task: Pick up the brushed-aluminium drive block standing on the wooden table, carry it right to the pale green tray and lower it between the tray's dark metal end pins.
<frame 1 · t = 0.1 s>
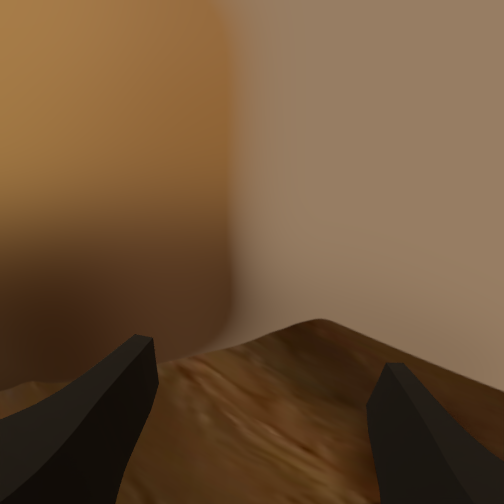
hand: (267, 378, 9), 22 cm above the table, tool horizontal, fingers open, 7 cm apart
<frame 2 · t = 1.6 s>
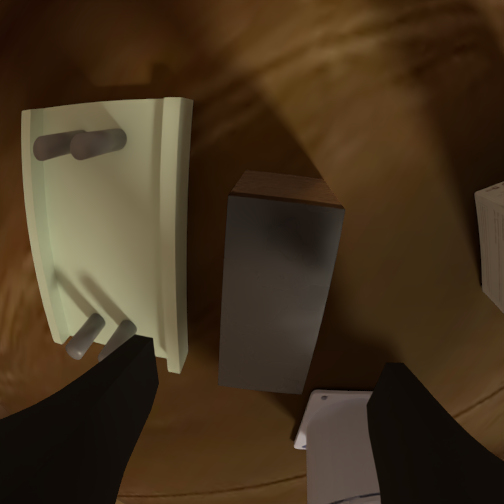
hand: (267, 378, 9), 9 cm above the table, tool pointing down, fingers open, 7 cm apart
tray: (109, 235, 18), on the table
drive: (275, 253, 18), on the table
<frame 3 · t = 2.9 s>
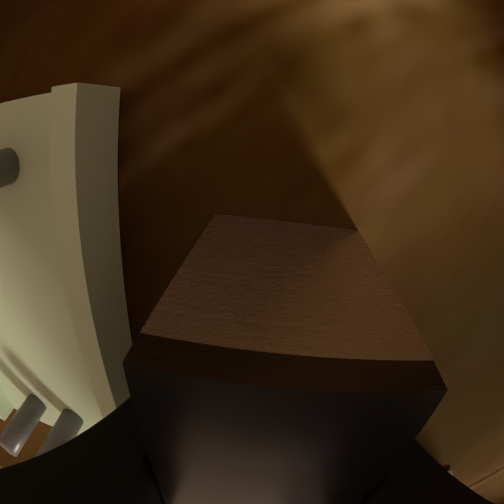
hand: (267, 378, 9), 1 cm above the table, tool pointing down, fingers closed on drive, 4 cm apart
tray: (29, 303, 11), on the table
drive: (269, 349, 11), on the table, touching gripper
when the fingers open (3 cm above the table, at t = 6.7 s): drive stays where it is, resting on tray.
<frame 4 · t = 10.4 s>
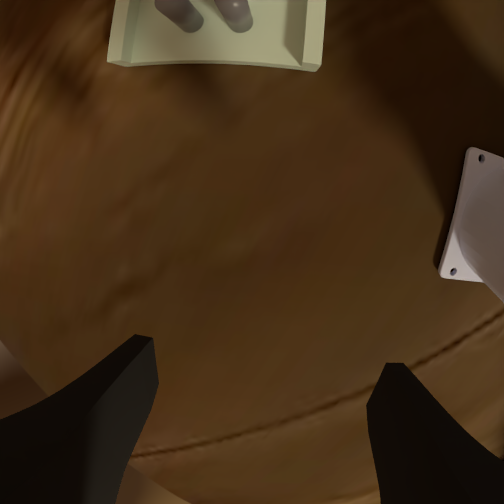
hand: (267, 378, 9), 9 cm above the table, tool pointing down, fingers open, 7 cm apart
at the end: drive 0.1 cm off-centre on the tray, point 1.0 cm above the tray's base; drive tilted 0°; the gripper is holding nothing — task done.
